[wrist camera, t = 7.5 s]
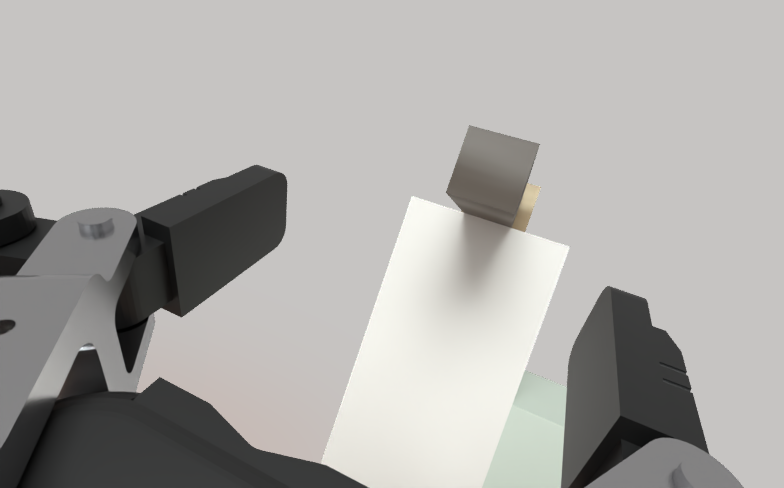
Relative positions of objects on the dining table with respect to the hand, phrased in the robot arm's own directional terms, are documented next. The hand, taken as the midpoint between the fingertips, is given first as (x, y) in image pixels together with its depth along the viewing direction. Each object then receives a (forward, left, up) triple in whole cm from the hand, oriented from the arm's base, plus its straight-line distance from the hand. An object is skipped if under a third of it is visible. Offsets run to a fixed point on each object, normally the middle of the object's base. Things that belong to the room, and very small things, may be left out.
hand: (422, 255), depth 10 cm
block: (+3, -17, +2) cm, 18 cm away
